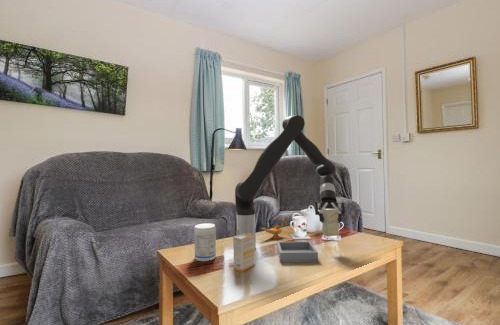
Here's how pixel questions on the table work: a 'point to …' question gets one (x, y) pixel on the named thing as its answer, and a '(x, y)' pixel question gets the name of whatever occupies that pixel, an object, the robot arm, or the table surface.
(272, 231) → the magic lamp
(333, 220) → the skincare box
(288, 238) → the table surface
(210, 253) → the supplement tub
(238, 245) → the supplement box
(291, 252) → the bin
